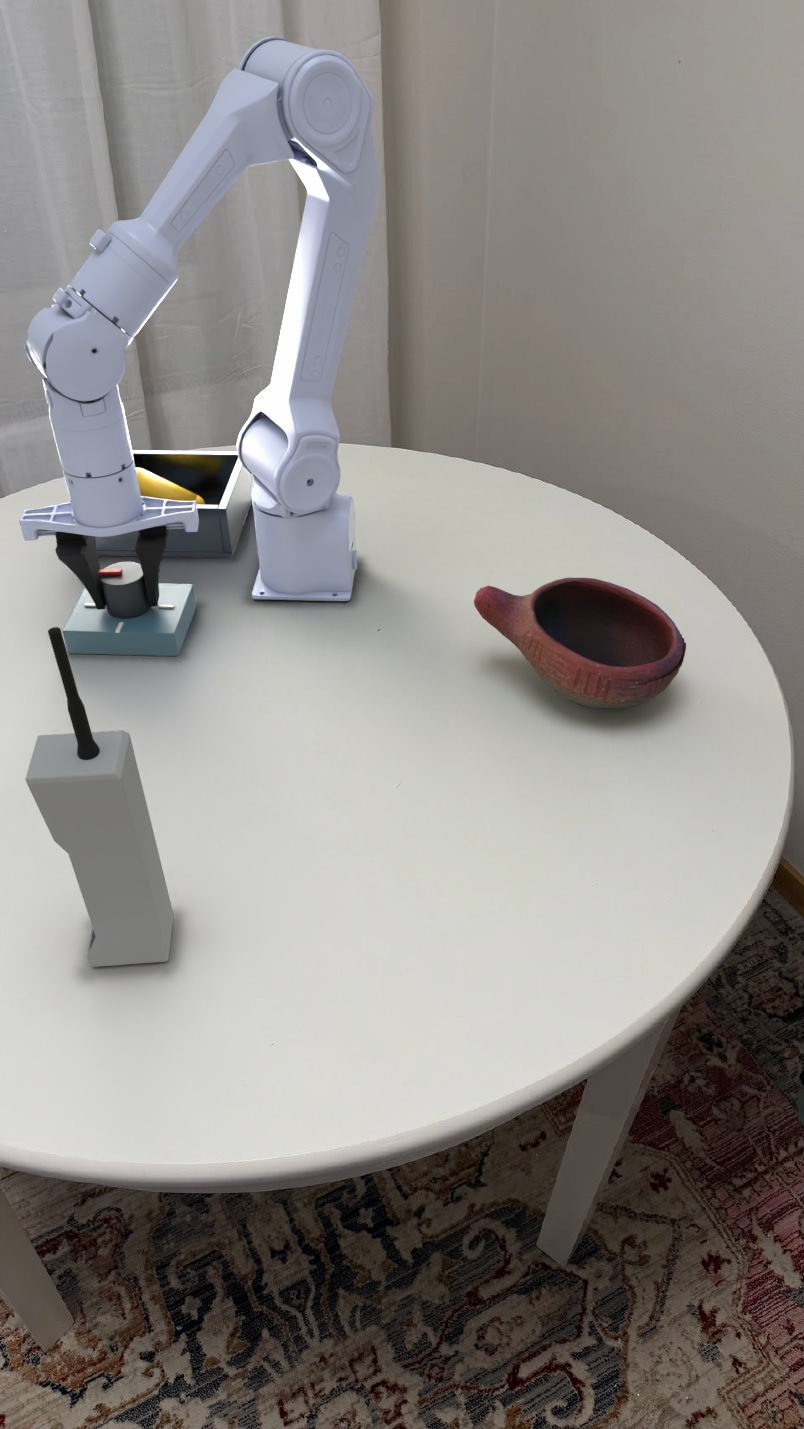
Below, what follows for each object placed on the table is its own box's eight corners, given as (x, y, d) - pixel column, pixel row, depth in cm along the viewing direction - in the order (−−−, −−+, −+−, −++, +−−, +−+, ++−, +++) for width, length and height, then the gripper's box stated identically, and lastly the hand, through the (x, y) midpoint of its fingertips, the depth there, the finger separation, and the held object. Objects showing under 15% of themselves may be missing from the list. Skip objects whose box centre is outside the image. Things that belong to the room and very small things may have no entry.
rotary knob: (155, 593, 93) (148, 557, 90) (147, 618, 90) (140, 582, 87) (111, 594, 93) (103, 558, 90) (102, 619, 89) (94, 583, 87)
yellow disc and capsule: (203, 514, 109) (213, 493, 107) (196, 532, 106) (205, 512, 104) (93, 461, 106) (101, 439, 104) (82, 479, 103) (90, 457, 101)
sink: (253, 498, 112) (247, 451, 108) (232, 558, 102) (225, 508, 98) (114, 496, 112) (104, 449, 109) (81, 555, 103) (69, 506, 99)
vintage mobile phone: (98, 922, 67) (-2, 610, 51) (174, 917, 67) (98, 604, 51) (90, 969, 64) (-20, 654, 48) (169, 963, 64) (87, 648, 48)
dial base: (197, 605, 96) (193, 581, 94) (178, 657, 89) (173, 632, 88) (94, 603, 96) (88, 579, 94) (67, 654, 90) (60, 630, 88)
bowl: (638, 632, 91) (651, 556, 86) (697, 722, 82) (716, 642, 77) (467, 655, 89) (470, 578, 84) (507, 750, 79) (513, 670, 74)
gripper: (191, 436, 85) (212, 573, 94) (17, 445, 85) (54, 582, 93) (184, 475, 80) (207, 616, 89) (-1, 484, 79) (40, 625, 88)
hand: (128, 601), depth 91 cm, fingers closed on rotary knob, 4 cm apart
